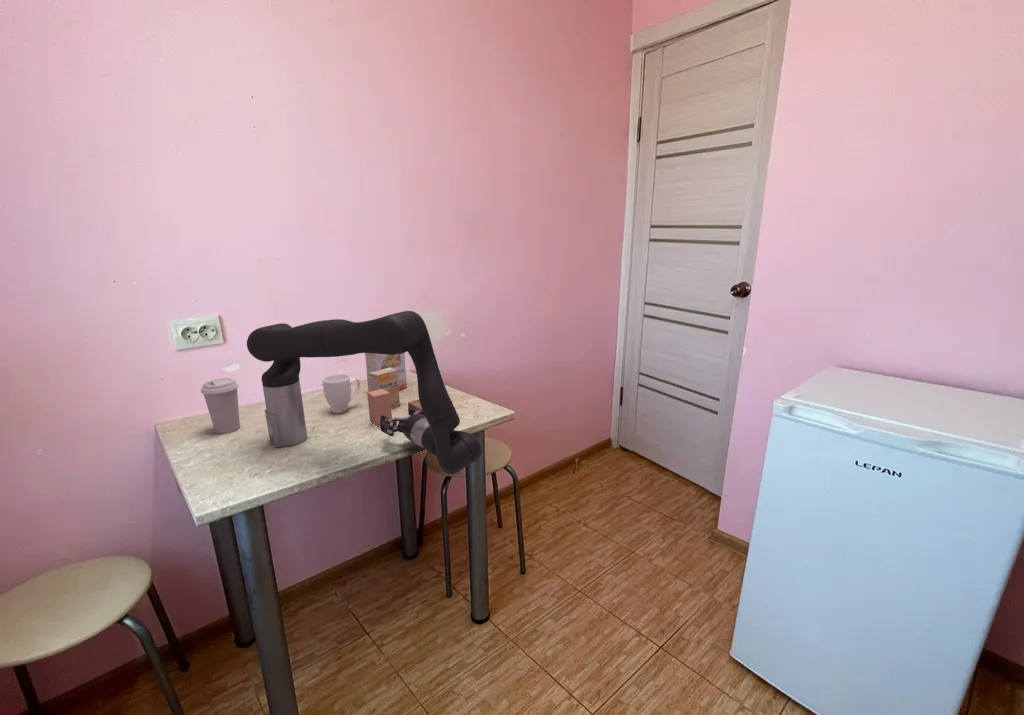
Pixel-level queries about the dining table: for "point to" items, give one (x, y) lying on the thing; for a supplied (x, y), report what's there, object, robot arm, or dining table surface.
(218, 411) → the coffee cup
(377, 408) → the terracotta block
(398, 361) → the cracker box
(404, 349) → the robot arm
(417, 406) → the walnut base
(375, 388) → the supplement box
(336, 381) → the mug
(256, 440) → the dining table surface
